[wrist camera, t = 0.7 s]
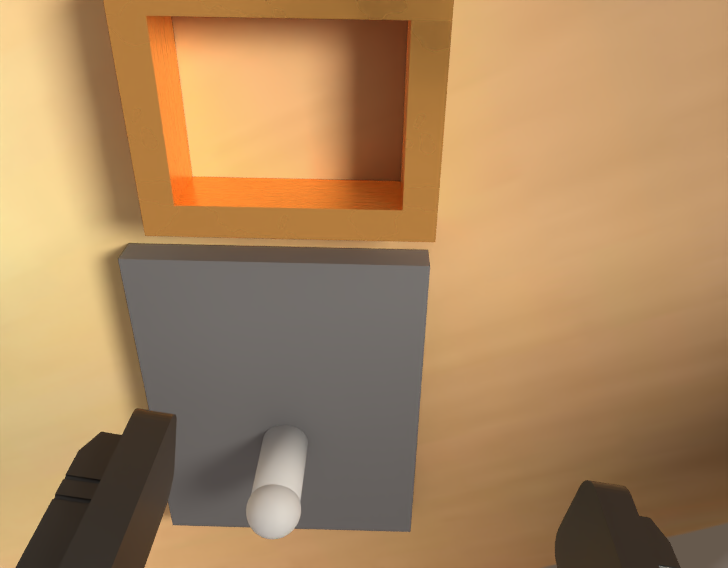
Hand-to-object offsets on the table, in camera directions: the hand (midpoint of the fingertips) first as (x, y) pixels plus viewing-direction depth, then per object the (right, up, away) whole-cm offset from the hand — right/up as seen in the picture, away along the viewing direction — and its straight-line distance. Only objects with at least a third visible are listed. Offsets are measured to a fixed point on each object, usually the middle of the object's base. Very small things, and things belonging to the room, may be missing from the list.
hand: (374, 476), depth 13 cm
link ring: (-3, +12, +14) cm, 19 cm away
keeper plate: (-4, -2, +23) cm, 23 cm away
